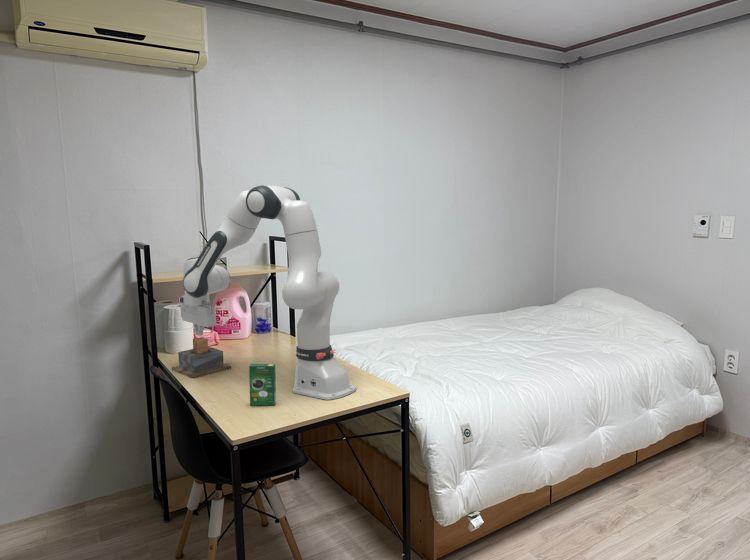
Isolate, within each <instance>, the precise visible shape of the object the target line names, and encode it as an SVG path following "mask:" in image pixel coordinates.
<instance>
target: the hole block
mask: <svg viewBox="0 0 750 560" xmlns="http://www.w3.org/2000/svg"><path fill="white" fill-rule="evenodd" d="M177 354H178V365H176V366H171V370H172V371H174V372H176V373H178V374H180V375H184V376H185V375H186V376H185V377H187V376H188V378H190V379H192V378H193V379H197V378H200V377H204V376H208V374H209V375H212V374H215V373H220V372H224V371H227V370H230V369H229V368H231V369H232V365H229V364H227V363H224V362H225V361H224V351H223V350H221V349H217V348H214V347H211V346H209V345H208V352H207V353H202V354H198V355H197V354H194V353H193V348H191V349H186V350H183V351H178V353H177ZM226 369H227V370H226ZM223 370H224V371H223Z"/></svg>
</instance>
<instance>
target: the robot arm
mask: <svg viewBox="0 0 750 560" xmlns="http://www.w3.org/2000/svg"><path fill="white" fill-rule="evenodd" d="M311 208H312V207H311V206H310V204H309V203H308V202H307V201H304V200H301V198H300V196H299V194H298V193H297V191H295V190H294V189H292V188H290V187H284V186H278V185H257V186H255V187H252V188H251V189H249V190H243V191H241V192H240V193H239V194H238V196H237V197H236V198H235V200H234V201H233V202H232V204H231V206H230V209H229V210H228V212H227V214H226V216H225V218H224V219H223V221H222V223H221V224H220V226H219V227H218V229H217V230H216V231H215V232H214V233H213V234H212V235H211V237H210V238H209V240H208V241H207V242H206V244H205V246H204V247H203V249H202V250H201V252H200V255H199V256H197V257H190V258H187V259H186V260H185V261H184V264H183V279H182V285H183V289H184V295H182V296H180V297H179V298H178V301H179V303H180V308H179V309H180V317H181V320H183V322H188V323H190V324H192V327H193V330H194V335H196V336H199V337H202V336H204V330H205V328H212V327H215V326H216V325H217V319H216V310H215V308H214V307H213V305H212V303H211V301H210V300H211V299H210V295H212V294H215V293H220V292H223V291H225V290H227V289H228V288H229V286H230V285H231V275H230V272H229V271H228V269H226V268H225V267H223V266H220V265H217V263H218V261H219V259H220V258H221V257H222V256H223V255H224V254H226V253H227V252H229V251H230V250H232V249H235V248H237V247H239V246H242V245H244V244H246V243H248V242H249V241H250V240H251V238H252V237H253V236H254V234H255V232H256V231H257V228H258V226H259V223H260V222H261V220H262V219H265V220H267V219H268V220H275V219H277V220H278V221H280V222H281V224H282V228H283V235H284V239H285V246H286V249H287V255H288V271H287V279H286V281H285V283H284V286H283V287H282V290H281V291H282V292H281V295H282V300H283V301H284V304H285V305H286V306H287V307H288V308H290V309H293V310H302V313H301V315H300V317H299V319H298V320H297V323H296V336H297V337H296V341H297V344H296V347H295V349H296V350H295V353H296V358H297V361H296V366H295V369H294V370H295V374H294V385H293V388H292V393H294V394H299V395H302V396H306V397H311V398H316V399H322V400H325V401H326V400H327V401H328V400H329V401H330V400H336V399H340V398H344V397H345V396H348V395H350V394H352V393H355V392H356V391H357V386H356V385H354V384H352V383H350V378H349V374H348V371H347V370H346V368H345V367H343V366H342V365H341V363H339V361H338V360H337V359H336V357H335V355H334V354H336V349H333V348H332V345H331V344H330V343H331V341H330V340H331V339H330V337H331V336H330V335H331V333H330V327H331V326H330V325H331V317H332V312H333V307H334V304H335V300H336V297H337V295H338V294H339V291H340V283H339V279H338V278H337V276H335V275H334V274H333V273H330V272H326V271H318V266H319V260H320V259H321V256H322V248H321V242H320V238H319V233H318V232H319V231H318V227H317V223H316V219H315V216H314V213H313V210H312V209H311Z"/></svg>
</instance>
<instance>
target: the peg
mask: <svg viewBox="0 0 750 560" xmlns="http://www.w3.org/2000/svg"><path fill="white" fill-rule="evenodd" d="M208 346H209V339H208V338H207V337H202V336H200V337H196V338H192V349H193V353H194V354H197V355H198V354H202V353H207V352H208Z"/></svg>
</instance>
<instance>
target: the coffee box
mask: <svg viewBox="0 0 750 560" xmlns="http://www.w3.org/2000/svg"><path fill="white" fill-rule="evenodd" d="M248 368H249V369H248V370H249V371H248V373H249V374H248V375H249V376H248V377H249V378H248V381H249V405H250V406H251V407H252V406H254V407H259V406H276V403H277V389H276V388H277V386H276V385H277V384H276V383H277V382H276V381H277V380H276V379H277V378H276V374H277V373H276V363H250V364H249V367H248Z"/></svg>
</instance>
